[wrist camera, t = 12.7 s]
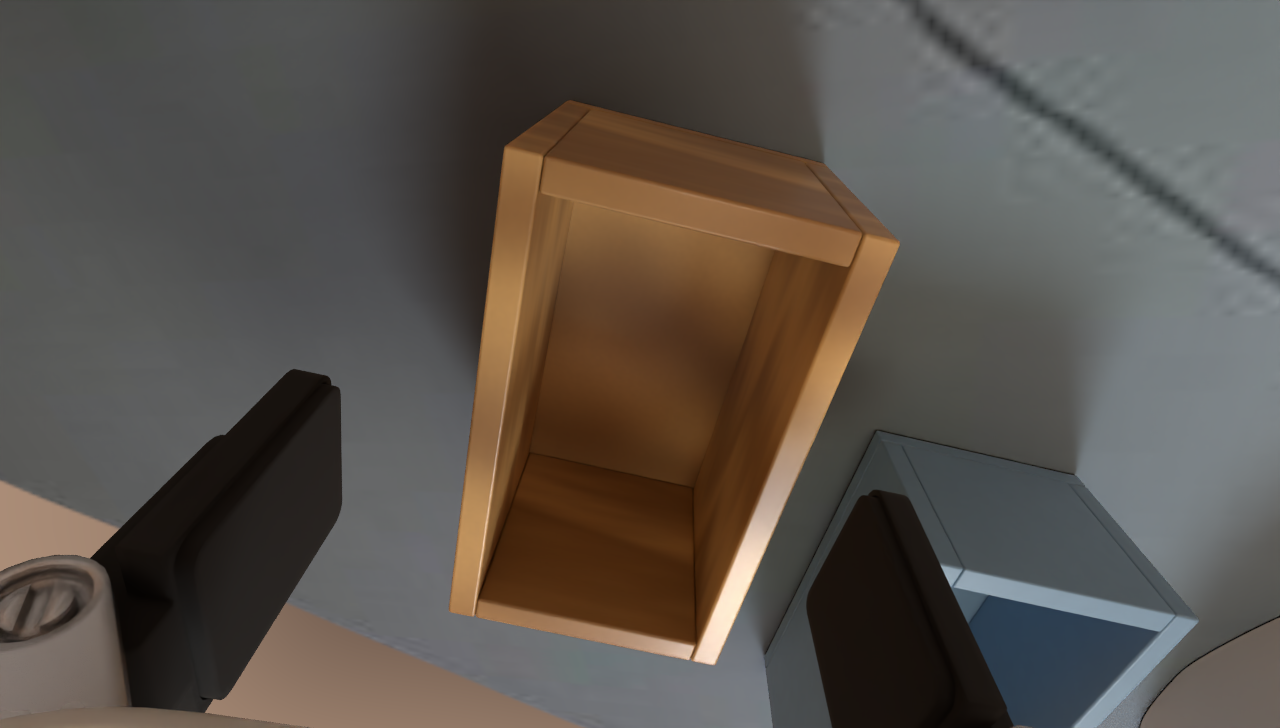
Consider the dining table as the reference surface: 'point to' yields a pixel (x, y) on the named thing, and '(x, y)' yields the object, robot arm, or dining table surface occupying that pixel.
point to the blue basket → (1007, 586)
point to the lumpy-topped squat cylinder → (1226, 687)
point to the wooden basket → (651, 374)
